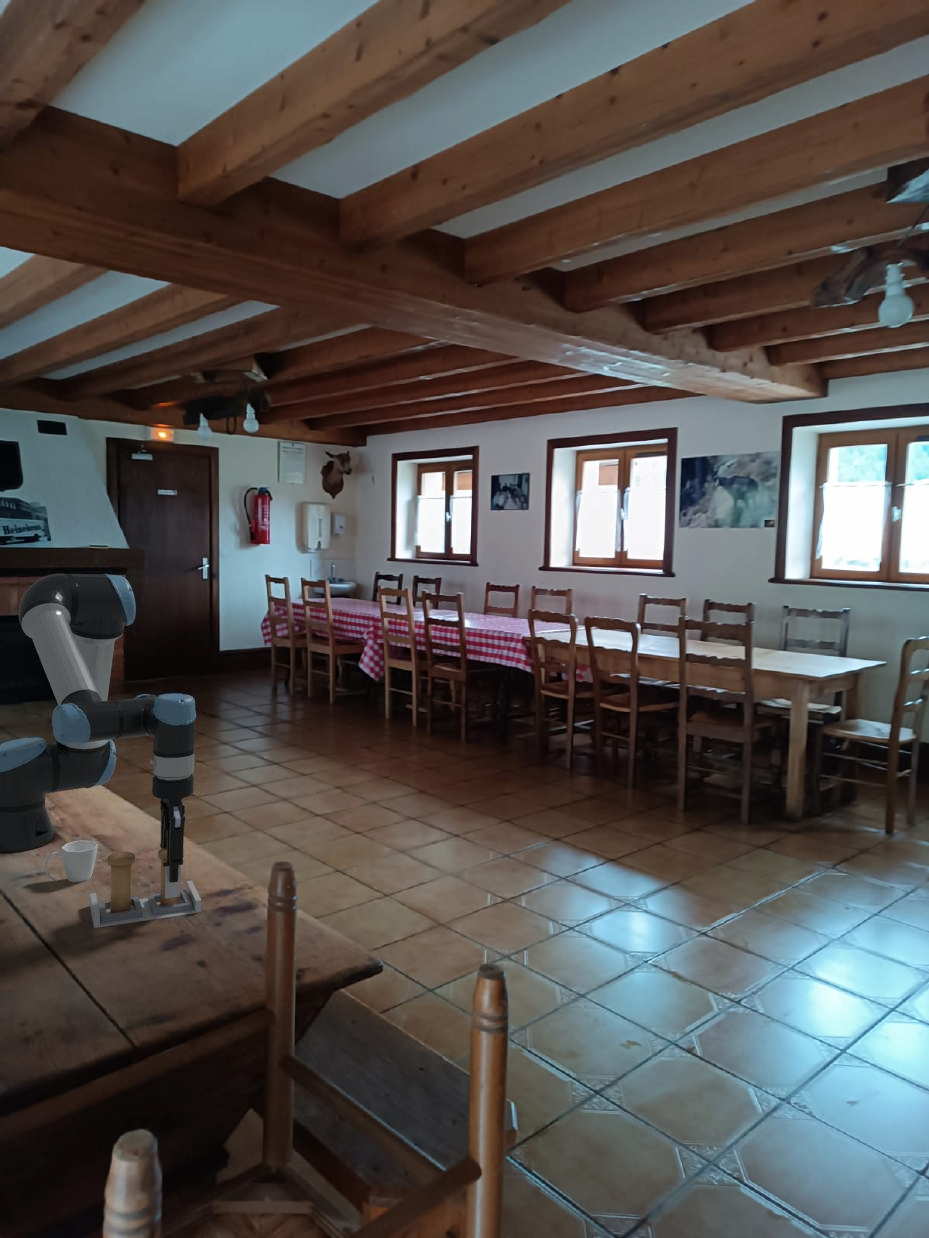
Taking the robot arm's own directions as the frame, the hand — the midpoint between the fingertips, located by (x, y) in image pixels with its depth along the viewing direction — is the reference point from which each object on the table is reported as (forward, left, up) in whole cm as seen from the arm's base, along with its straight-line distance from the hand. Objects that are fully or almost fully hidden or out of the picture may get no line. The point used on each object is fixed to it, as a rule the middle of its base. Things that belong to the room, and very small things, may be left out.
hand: (170, 891), depth 166 cm
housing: (0, -5, -4) cm, 6 cm away
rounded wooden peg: (0, -9, -3) cm, 9 cm away
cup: (-20, -17, -4) cm, 26 cm away
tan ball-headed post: (0, 0, -3) cm, 3 cm away
